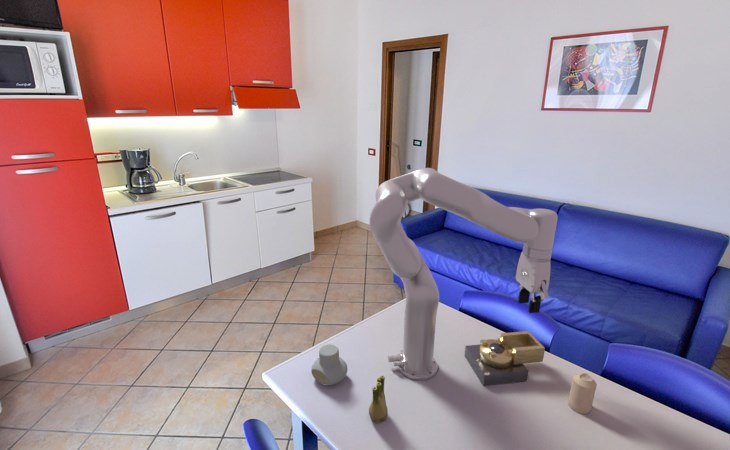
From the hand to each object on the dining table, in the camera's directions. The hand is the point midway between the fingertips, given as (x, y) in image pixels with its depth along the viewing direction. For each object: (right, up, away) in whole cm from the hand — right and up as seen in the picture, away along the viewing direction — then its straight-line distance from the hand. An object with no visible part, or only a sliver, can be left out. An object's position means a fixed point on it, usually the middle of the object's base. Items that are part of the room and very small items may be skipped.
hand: (528, 306), depth 111 cm
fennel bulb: (-46, -27, -13) cm, 55 cm away
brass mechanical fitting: (-5, -17, +5) cm, 18 cm away
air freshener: (-60, -22, +1) cm, 64 cm away
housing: (-8, -21, +5) cm, 23 cm away
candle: (+10, -26, -9) cm, 29 cm away
